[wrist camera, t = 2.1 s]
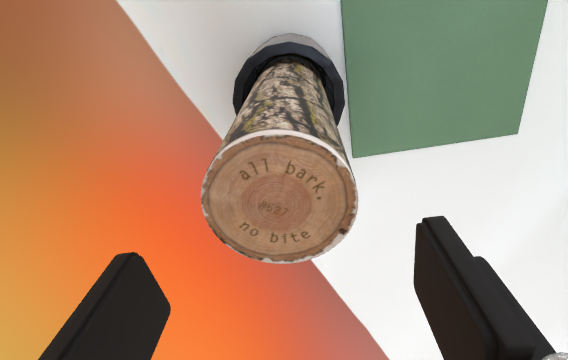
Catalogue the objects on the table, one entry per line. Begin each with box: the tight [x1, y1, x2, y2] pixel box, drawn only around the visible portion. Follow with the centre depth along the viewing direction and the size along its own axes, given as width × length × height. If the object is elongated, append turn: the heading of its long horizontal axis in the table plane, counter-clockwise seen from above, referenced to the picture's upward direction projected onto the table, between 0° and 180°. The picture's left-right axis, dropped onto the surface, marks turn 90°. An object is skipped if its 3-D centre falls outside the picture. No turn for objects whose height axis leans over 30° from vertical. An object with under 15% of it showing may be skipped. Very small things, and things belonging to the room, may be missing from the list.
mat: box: [341, 0, 548, 158], centre depth 32 cm, size 20×20×1 cm
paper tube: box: [201, 53, 358, 264], centre depth 23 cm, size 7×7×25 cm
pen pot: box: [233, 33, 345, 126], centre depth 30 cm, size 10×10×9 cm
